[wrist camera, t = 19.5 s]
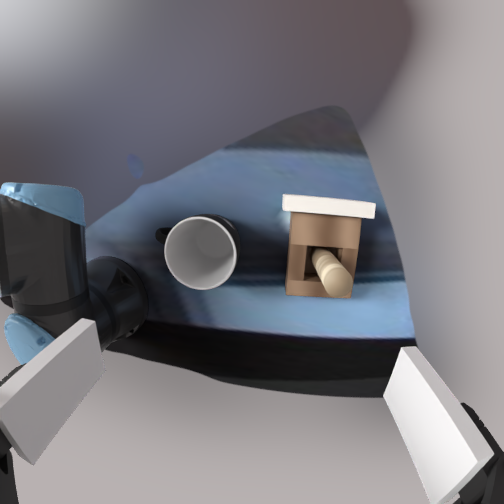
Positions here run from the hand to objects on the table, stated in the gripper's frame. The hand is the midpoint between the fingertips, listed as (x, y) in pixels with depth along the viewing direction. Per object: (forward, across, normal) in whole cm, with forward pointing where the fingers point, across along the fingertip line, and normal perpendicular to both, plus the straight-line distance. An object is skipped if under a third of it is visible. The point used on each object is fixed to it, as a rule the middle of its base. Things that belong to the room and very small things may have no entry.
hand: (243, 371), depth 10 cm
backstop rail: (+32, +9, +5) cm, 34 cm away
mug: (+33, -8, -1) cm, 34 cm away
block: (+32, +9, -2) cm, 33 cm away
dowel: (+31, +9, -2) cm, 33 cm away
